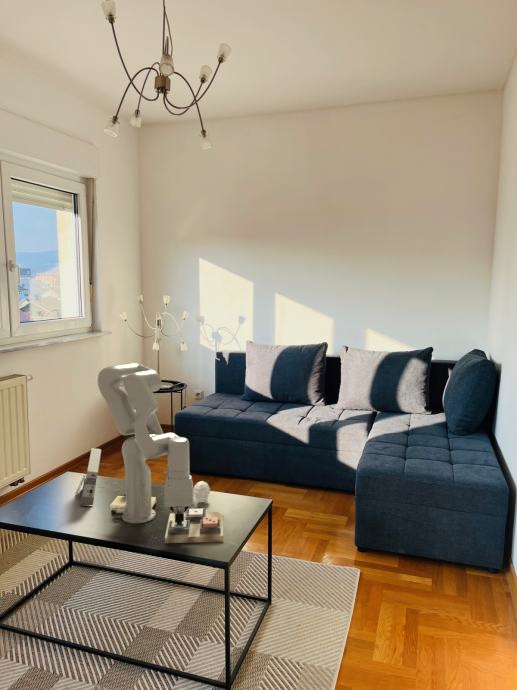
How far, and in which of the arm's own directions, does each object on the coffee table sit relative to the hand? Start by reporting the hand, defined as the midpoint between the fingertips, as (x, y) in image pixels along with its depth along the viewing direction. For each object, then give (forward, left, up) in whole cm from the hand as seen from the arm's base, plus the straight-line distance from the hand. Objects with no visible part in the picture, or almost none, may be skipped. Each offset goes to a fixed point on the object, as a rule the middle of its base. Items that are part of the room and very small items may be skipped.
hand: (179, 523), depth 189 cm
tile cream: (+5, +10, -2) cm, 12 cm away
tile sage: (0, 0, -2) cm, 2 cm away
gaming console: (-41, +37, -5) cm, 55 cm away
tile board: (+5, +5, -5) cm, 8 cm away
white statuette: (+5, +27, -5) cm, 28 cm away
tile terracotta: (+11, 0, -1) cm, 11 cm away
